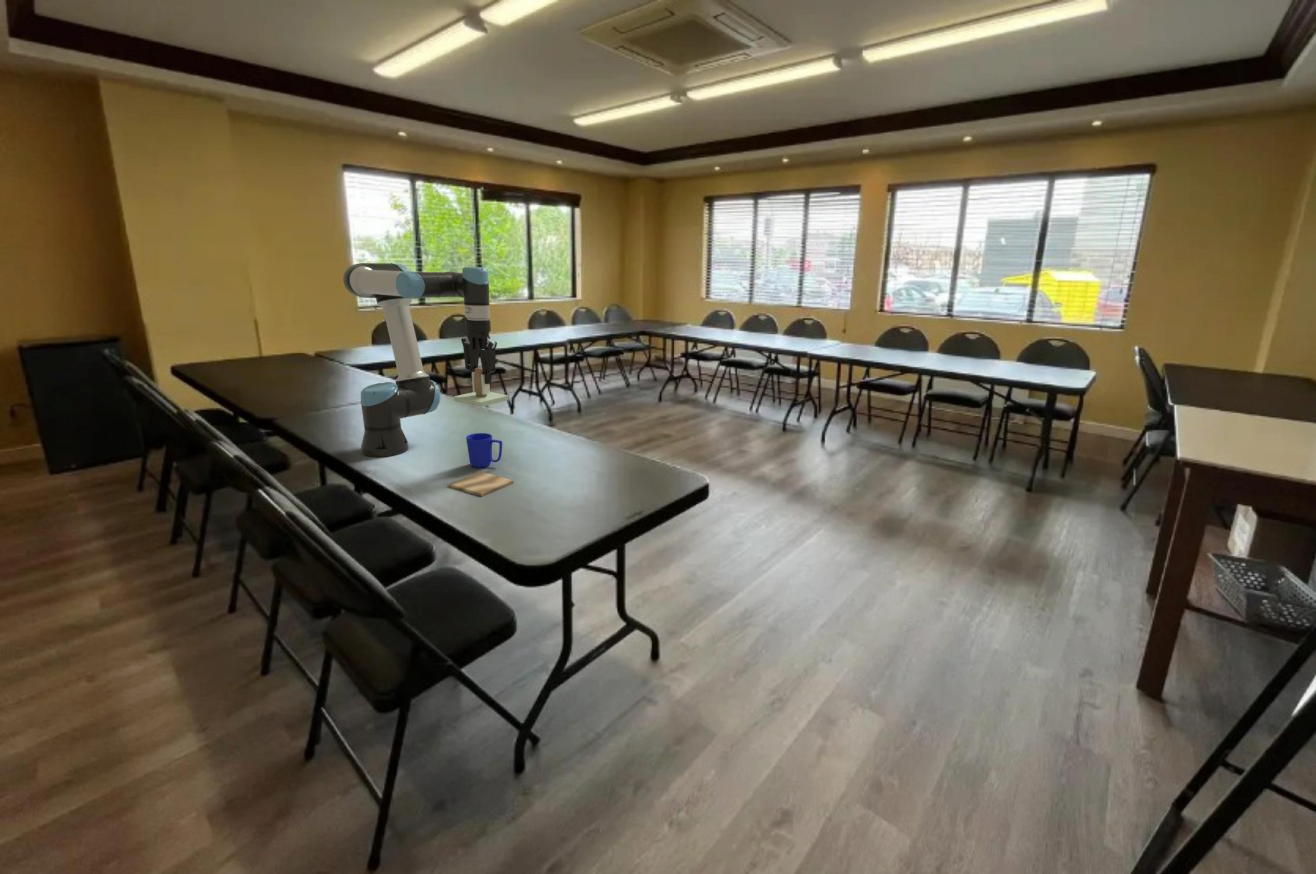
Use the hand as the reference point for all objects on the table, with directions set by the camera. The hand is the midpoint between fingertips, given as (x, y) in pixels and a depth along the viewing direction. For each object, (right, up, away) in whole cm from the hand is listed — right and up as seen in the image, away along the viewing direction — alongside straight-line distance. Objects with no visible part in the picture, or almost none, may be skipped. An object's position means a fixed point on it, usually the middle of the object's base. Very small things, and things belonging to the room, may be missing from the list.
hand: (481, 392), depth 185 cm
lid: (0, -3, +1) cm, 3 cm away
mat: (+3, -29, -9) cm, 30 cm away
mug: (-1, -24, +7) cm, 25 cm away
